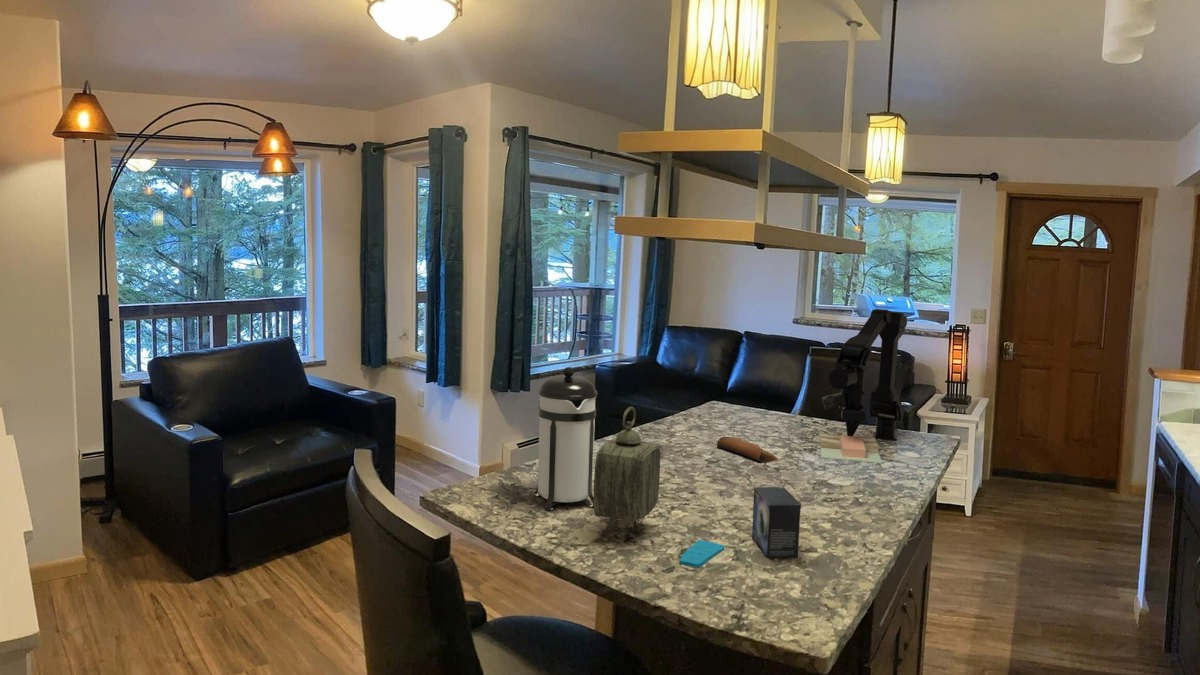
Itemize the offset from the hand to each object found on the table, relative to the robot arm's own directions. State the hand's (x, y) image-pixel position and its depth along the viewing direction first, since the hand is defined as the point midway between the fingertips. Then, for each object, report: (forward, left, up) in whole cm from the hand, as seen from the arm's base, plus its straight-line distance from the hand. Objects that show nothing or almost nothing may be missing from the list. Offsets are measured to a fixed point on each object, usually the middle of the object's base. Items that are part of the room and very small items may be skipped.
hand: (849, 438), depth 224 cm
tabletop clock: (+86, -47, -4) cm, 98 cm away
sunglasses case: (+15, -28, -4) cm, 32 cm away
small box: (+84, -18, -4) cm, 86 cm away
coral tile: (+5, +1, -2) cm, 5 cm away
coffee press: (+72, -65, -4) cm, 97 cm away
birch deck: (-5, 0, -4) cm, 7 cm away
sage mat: (+6, 0, -4) cm, 7 cm away
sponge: (+93, -32, -4) cm, 98 cm away
